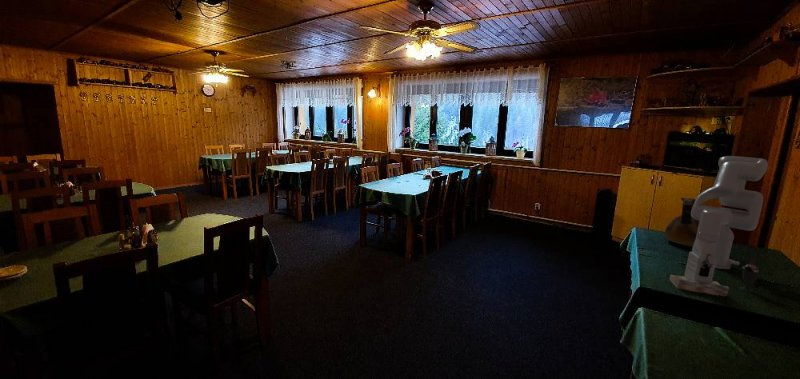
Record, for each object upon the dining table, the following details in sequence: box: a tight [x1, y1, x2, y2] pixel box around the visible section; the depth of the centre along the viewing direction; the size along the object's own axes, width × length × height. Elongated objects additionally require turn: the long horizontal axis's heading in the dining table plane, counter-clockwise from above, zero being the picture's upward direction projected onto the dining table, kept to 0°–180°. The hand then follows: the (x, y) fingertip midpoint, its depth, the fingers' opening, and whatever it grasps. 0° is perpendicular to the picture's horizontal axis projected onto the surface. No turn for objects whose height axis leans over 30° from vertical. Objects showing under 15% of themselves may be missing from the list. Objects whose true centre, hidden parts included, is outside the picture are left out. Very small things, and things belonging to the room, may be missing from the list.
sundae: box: [738, 258, 762, 293], centre depth 156 cm, size 7×7×15 cm
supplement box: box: [683, 251, 717, 284], centre depth 158 cm, size 7×7×13 cm
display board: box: [669, 274, 730, 297], centre depth 158 cm, size 18×10×4 cm, turn 69°
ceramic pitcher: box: [664, 197, 699, 248], centre depth 212 cm, size 20×20×30 cm
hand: (699, 272), depth 158 cm, fingers closed on supplement box, 8 cm apart
